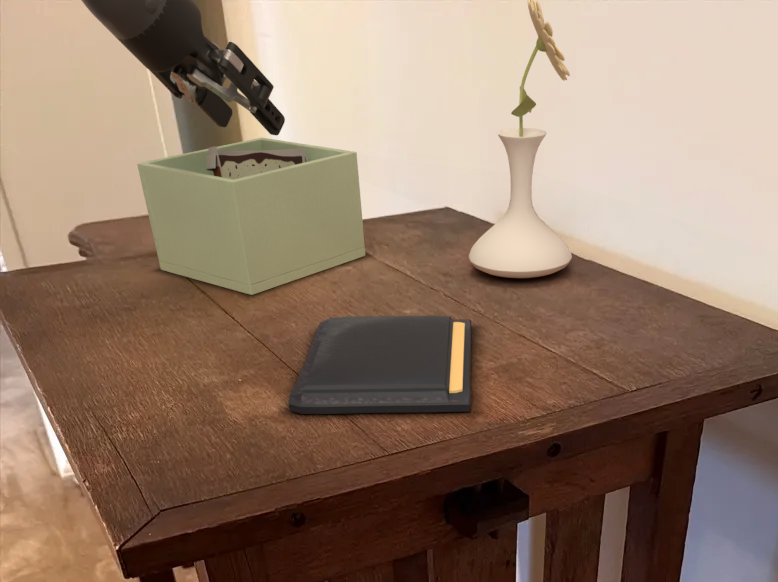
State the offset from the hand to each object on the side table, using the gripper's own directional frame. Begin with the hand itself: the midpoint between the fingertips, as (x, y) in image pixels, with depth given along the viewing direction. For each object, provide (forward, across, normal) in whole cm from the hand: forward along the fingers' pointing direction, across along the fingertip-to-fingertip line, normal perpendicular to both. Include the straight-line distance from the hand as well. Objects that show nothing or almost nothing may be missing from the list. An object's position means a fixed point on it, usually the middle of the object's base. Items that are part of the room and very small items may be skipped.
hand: (252, 123), depth 98 cm
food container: (+8, +1, +10) cm, 13 cm away
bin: (+9, 0, +11) cm, 14 cm away
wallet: (-2, -33, +22) cm, 40 cm away
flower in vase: (+20, -26, 0) cm, 33 cm away
